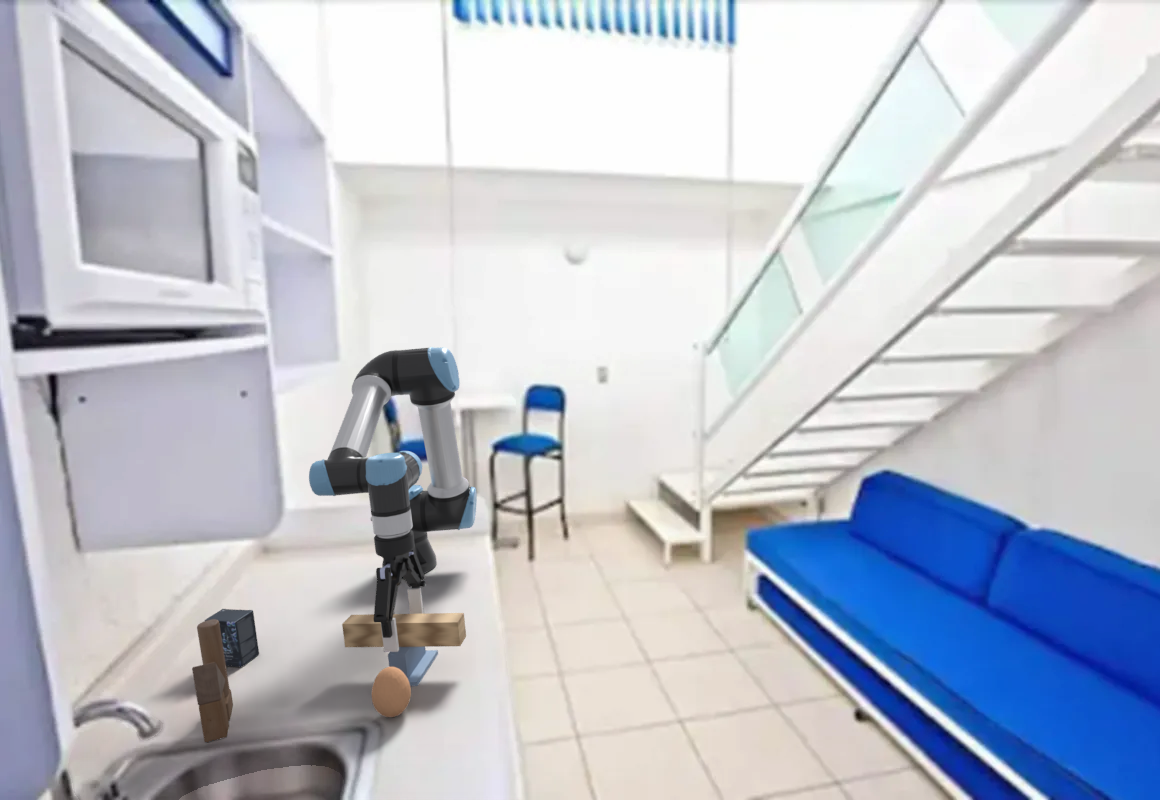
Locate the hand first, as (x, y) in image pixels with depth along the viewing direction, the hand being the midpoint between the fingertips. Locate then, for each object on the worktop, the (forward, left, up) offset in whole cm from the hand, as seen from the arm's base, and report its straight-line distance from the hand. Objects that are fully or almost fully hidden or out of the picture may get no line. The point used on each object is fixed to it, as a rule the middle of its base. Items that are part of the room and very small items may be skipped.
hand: (405, 633), depth 132 cm
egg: (+15, +3, -8) cm, 17 cm away
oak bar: (0, 0, -2) cm, 2 cm away
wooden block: (+18, -29, -8) cm, 35 cm away
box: (-4, -41, -8) cm, 42 cm away
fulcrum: (0, 0, -8) cm, 8 cm away
